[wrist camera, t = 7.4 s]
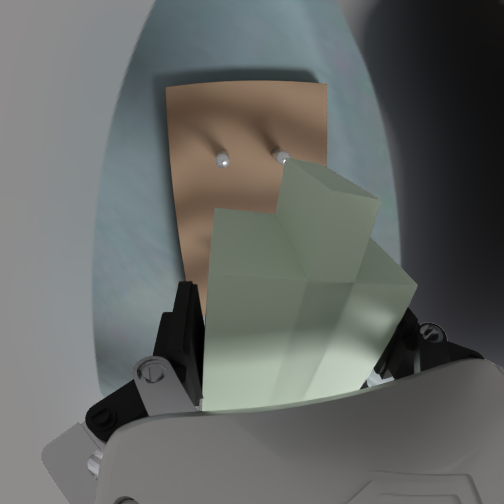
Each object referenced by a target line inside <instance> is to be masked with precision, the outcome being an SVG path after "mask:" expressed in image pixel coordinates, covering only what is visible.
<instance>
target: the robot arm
mask: <svg viewBox="0 0 504 504" xmlns="http://www.w3.org/2000/svg"><path fill="white" fill-rule="evenodd" d="M417 321H418V319H417V318H416V317H415V315H414V314H413V313H412V311H411V310H410V309H409V307H407V309H406V311H405V313H404V315H403V317H402V319H401V321H400V323H399V324H398V325H397V328H396V330H395V332H394V334H393V336H392V338H391V339H390V341H389V343H388V345H387V346H386V348H385V350H384V352H383V353H382V355H381V357H380V358H379V360H378V361H377V363H376V365H375V366H374V370H375V372H376V373H377V374H379V375H380V377H381V379H386V378H389V377H392V376H393V378H394V381H390V382H387V383H383V384H380V385H376V386H372V387H368V388H364V389H360V390H356V391H352V392H348V393H343V394H338V395H334V396H329V397H324V398H318V399H313V400H307V401H301V402H294V403H288V404H280V405H273V406H264V407H254V408H243V409H231V410H216V411H197V410H196V408H195V406H199V399H201V398H203V394H202V391H203V358H204V335H205V327H204V321H203V315H202V309H201V303H200V297H199V291H198V285H197V284H193V282H192V281H182V282H179V284H178V289H177V294H176V298H175V303H174V308H173V312H164V313H163V314H162V317H161V321H160V325H159V330H158V334H157V338H156V343H155V347H154V352H153V356H150V357H146V358H144V359H142V360H140V361H139V362H138V363H137V364H136V365H135V367H134V369H133V378H134V379H133V380H132V381H130V382H129V383H127V384H126V385H124V386H123V387H121V388H120V389H118V390H117V391H115V392H113V393H112V394H110V395H109V396H107V397H106V398H104V399H103V400H101V401H99V402H98V403H96V404H95V405H93V406H92V407H91V408H90V409H89V410H88V412H87V414H86V417H85V421H84V422H83V423H82V424H80V423H79V422H78V423H77V424H75V425H74V426H72V427H71V428H70V429H69V430H67V431H66V432H64V433H63V434H61V435H60V436H59V437H57V438H56V439H54V440H53V441H52V442H50V443H49V444H47V446H45V447H44V449H43V451H42V461H43V463H44V465H45V467H46V469H47V470H48V472H49V473H50V475H51V476H52V478H53V480H54V481H55V483H56V484H57V486H58V487H59V489H60V490H61V491H62V493H63V494H64V496H65V497H66V498H67V500H68V501H69V502H70V504H504V368H502V367H499V366H497V365H495V364H493V363H492V362H490V361H488V360H485V359H484V358H483V357H482V355H481V354H479V353H478V352H476V351H473V350H470V349H468V348H465V347H462V346H459V345H457V344H454V343H451V342H448V341H447V336H446V334H445V331H444V330H443V329H442V328H441V327H440V326H438V325H436V324H433V323H422V324H421V325H419V324H418V322H417ZM134 500H136V501H134Z"/></svg>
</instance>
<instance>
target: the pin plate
mask: <svg viewBox="0 0 504 504" xmlns="http://www.w3.org/2000/svg"><path fill="white" fill-rule="evenodd" d="M166 108H167V125H168V140H169V152H170V163H171V174H172V183H173V193H174V201H175V209H176V217H177V225H178V232H179V239H180V246H181V253H182V259H183V265H184V271H185V277H186V281H192V282H193V284H197V285H198V291H199V297H200V303H201V309H202V315H205V314H206V300H207V286H208V273H209V261H210V249H211V239H212V228H213V218H214V209H215V208H223V209H233V210H243V211H252V212H261V213H270V214H275V213H276V207H277V202H278V196H279V191H280V185H281V180H282V174H283V169H284V163H285V158H292V159H297V160H303V161H309V162H314V163H319V164H321V165H323V166H324V167H326V161H327V84H321V83H310V82H294V81H225V82H210V83H198V84H188V85H179V86H172V87H166Z"/></svg>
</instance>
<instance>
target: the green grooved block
mask: <svg viewBox="0 0 504 504" xmlns="http://www.w3.org/2000/svg"><path fill="white" fill-rule="evenodd" d="M380 201H381V200H380V199H378V198H377V197H375V196H374V195H372V194H370V193H369V192H367V191H366V190H364V189H362V188H361V187H359V186H357V185H356V184H354V183H352V182H351V181H349V180H347V179H346V178H344V177H342V176H340V175H339V174H337V173H335V172H333V171H332V170H330V169H328V168H326V167H324V166H323V165H321V164H319V163H314V162H309V161H303V160H297V159H292V158H285V163H284V169H283V174H282V180H281V185H280V191H279V196H278V202H277V207H276V213H275V214H270V213H261V212H252V211H243V210H233V209H223V208H215V209H214V218H213V228H212V239H211V249H210V261H209V273H208V286H207V300H206V314H205V335H204V358H203V391H202V394H203V398H202V411H216V410H231V409H243V408H254V407H264V406H273V405H280V404H288V403H294V402H301V401H307V400H313V399H318V398H324V397H329V396H334V395H338V394H343V393H348V392H352V391H356V390H359V389H360V388H361V386H362V385H363V383H364V382H365V380H366V379H367V377H368V376H369V374H370V373H371V371H372V370H373V368H374V366H375V365H376V363H377V361H378V360H379V358H380V357H381V355H382V353H383V352H384V350H385V348H386V346H387V345H388V343H389V341H390V339H391V338H392V336H393V334H394V332H395V330H396V328H397V325H398V324H399V323H400V321H401V319H402V317H403V315H404V313H405V311H406V309H407V307H408V305H409V303H410V301H411V299H412V297H413V295H414V292H415V291H416V288H417V284H416V283H415V282H414V281H413V280H412V279H411V278H410V277H409V276H408V275H407V273H405V271H404V270H403V269H402V268H401V267H400V266H399V265H398V264H397V263H396V262H395V261H394V260H393V259H392V258H391V257H390V256H389V255H388V254H387V253H386V252H385V251H384V250H383V249H382V248H381V247H380V246H379V245H378V244H377V243H376V242H375V241H374V240H373V239H372V238H371V237H370V235H371V232H372V229H373V226H374V222H375V219H376V216H377V212H378V209H379V205H380Z"/></svg>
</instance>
